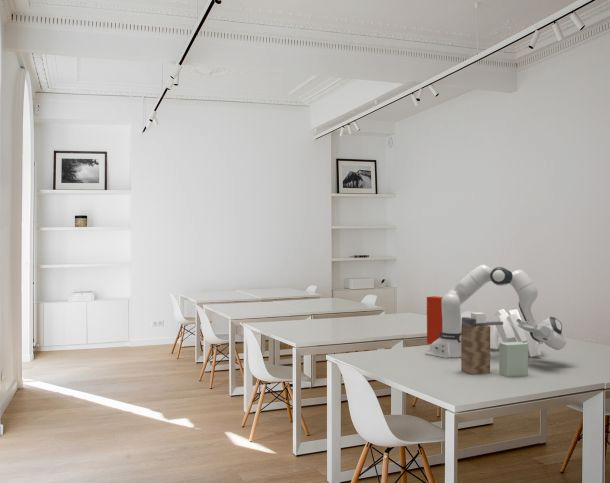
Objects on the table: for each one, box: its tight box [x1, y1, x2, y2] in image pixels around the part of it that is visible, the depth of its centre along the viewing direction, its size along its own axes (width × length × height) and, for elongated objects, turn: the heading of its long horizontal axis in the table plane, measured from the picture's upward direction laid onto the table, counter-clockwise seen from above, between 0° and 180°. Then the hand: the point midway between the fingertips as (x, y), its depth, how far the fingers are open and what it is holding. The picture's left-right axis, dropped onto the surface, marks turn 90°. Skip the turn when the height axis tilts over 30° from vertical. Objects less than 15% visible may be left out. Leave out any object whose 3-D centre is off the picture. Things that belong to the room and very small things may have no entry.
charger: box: [470, 311, 503, 326], centre depth 315 cm, size 17×5×7 cm, turn 106°
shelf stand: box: [460, 316, 491, 375], centre depth 313 cm, size 12×9×29 cm
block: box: [498, 341, 529, 378], centre depth 306 cm, size 12×7×16 cm, turn 106°
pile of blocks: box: [488, 308, 544, 358], centre depth 367 cm, size 35×30×35 cm
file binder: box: [426, 295, 443, 345], centre depth 393 cm, size 8×17×32 cm, turn 36°
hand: (522, 320), depth 321 cm, fingers open, 8 cm apart
